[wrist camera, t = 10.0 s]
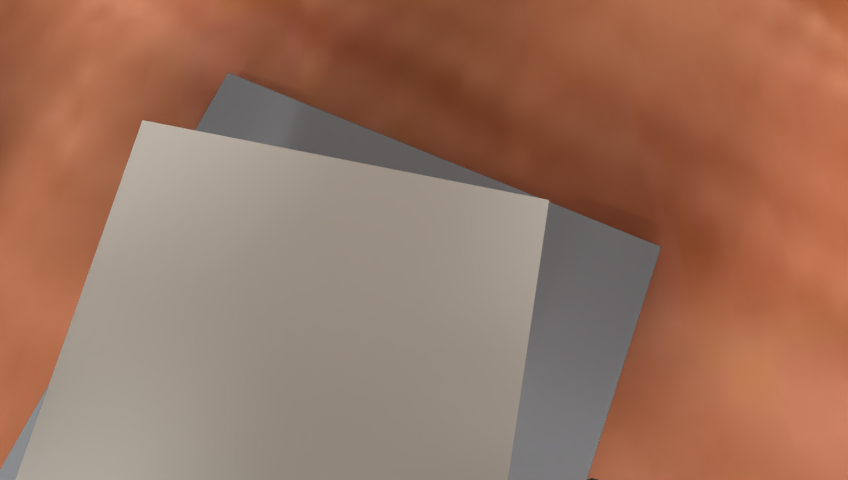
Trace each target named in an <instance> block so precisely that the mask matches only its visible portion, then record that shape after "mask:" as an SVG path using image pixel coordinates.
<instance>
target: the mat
mask: <svg viewBox="0 0 848 480" xmlns="http://www.w3.org/2000/svg"><path fill="white" fill-rule="evenodd" d="M195 130H196V131H201V132H206V133H211V134H216V135H221V136H226V137H231V138H236V139H241V140H246V141H252V142H257V143H262V144H267V145H272V146H277V147H282V148H287V149H292V150H297V151H302V152H308V153H313V154H318V155H323V156H328V157H333V158H338V159H343V160H348V161H353V162H359V163H364V164H369V165H374V166H379V167H384V168H389V169H394V170H399V171H404V172H409V173H415V174H420V175H425V176H430V177H435V178H440V179H445V180H450V181H455V182H460V183H465V184H471V185H476V186H481V187H486V188H491V189H496V190H501V191H506V192H511V193H516V194H521V195H527V196H532V197H536V196H534V195H531V194H529V193H526V192H524V191H521V190H519V189H516V188H514V187H511V186H509V185H506V184H504V183H501V182H499V181H497V180H494V179H492V178H489V177H487V176H484V175H482V174H479V173H477V172H474V171H472V170H469V169H467V168H464V167H462V166H459V165H457V164H454V163H452V162H449V161H447V160H444V159H442V158H439V157H437V156H434V155H432V154H429V153H427V152H424V151H422V150H420V149H417V148H415V147H412V146H410V145H407V144H405V143H402V142H400V141H397V140H395V139H392V138H390V137H387V136H385V135H382V134H380V133H377V132H375V131H372V130H370V129H367V128H365V127H362V126H360V125H357V124H355V123H352V122H350V121H347V120H345V119H342V118H340V117H338V116H335V115H333V114H330V113H328V112H325V111H323V110H320V109H318V108H315V107H313V106H310V105H308V104H305V103H303V102H300V101H298V100H295V99H293V98H290V97H288V96H285V95H283V94H280V93H278V92H275V91H273V90H270V89H268V88H265V87H263V86H261V85H258V84H256V83H253V82H251V81H248V80H246V79H243V78H241V77H238V76H236V75H233V74H231V73H228V74H227V75H226V77H225V79H224V81H223V82H222V84H221V86H220V88H219V89H218V91H217V93H216V95H215V96H214V98H213V100H212V102H211V103H210V105H209V107H208V109H207V110H206V112H205V114H204V116H203V117H202V119H201V121H200V122H199V124H198V126H197V128H196V129H195ZM537 198H539V197H537ZM660 249H661V247H660V246H658V245H656V244H653V243H651V242H648V241H646V240H643V239H641V238H638V237H636V236H633V235H631V234H628V233H626V232H623V231H621V230H618V229H616V228H613V227H611V226H608V225H606V224H603V223H601V222H598V221H596V220H593V219H591V218H588V217H586V216H583V215H581V214H579V213H576V212H574V211H571V210H569V209H566V208H564V207H561V206H559V205H556V204H554V203H551V202H549V205H548V211H547V218H546V225H545V232H544V239H543V245H542V252H541V259H540V266H539V273H538V279H537V286H536V293H535V300H534V306H533V313H532V320H531V327H530V334H529V340H528V347H527V354H526V361H525V368H524V374H523V381H522V388H521V395H520V402H519V408H518V415H517V422H516V429H515V435H514V442H513V449H512V456H511V463H510V469H509V476H508V480H587V477H588V474H589V471H590V468H591V465H592V462H593V459H594V455H595V452H596V449H597V446H598V443H599V440H600V437H601V434H602V430H603V427H604V424H605V421H606V418H607V415H608V412H609V408H610V405H611V402H612V399H613V396H614V393H615V390H616V387H617V383H618V380H619V377H620V374H621V371H622V368H623V365H624V362H625V358H626V355H627V352H628V349H629V346H630V343H631V340H632V337H633V333H634V330H635V327H636V324H637V321H638V318H639V315H640V311H641V308H642V305H643V302H644V299H645V296H646V293H647V290H648V286H649V283H650V280H651V277H652V274H653V271H654V268H655V265H656V261H657V258H658V255H659V252H660ZM48 386H49V385H48ZM47 389H48V387H47ZM47 389H46V391H45V392H44V394H43V396H42V398H41V399H40V401H39V403H38V405H37V406H36V408H35V410H34V412H33V413H32V415H31V417H30V419H29V420H28V422H27V424H26V426H25V427H24V429H23V431H22V432H21V434H20V436H19V438H18V439H17V441H16V443H15V445H14V446H13V448H12V450H11V452H10V453H9V455H8V457H7V459H6V460H5V462H4V464H3V466H2V467H1V469H0V480H15V479H16V477H17V474H18V471H19V468H20V465H21V462H22V460H23V457H24V454H25V451H26V448H27V445H28V443H29V440H30V437H31V434H32V431H33V428H34V426H35V423H36V420H37V417H38V414H39V411H40V409H41V406H42V403H43V400H44V397H45V394H46V392H47Z"/></svg>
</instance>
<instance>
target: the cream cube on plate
mask: <svg viewBox="0 0 848 480" xmlns="http://www.w3.org/2000/svg"><path fill="white" fill-rule="evenodd" d="M548 205H549V200H547V199H542V198H537V197H532V196H527V195H521V194H516V193H511V192H506V191H501V190H496V189H491V188H486V187H481V186H476V185H471V184H465V183H460V182H455V181H450V180H445V179H440V178H435V177H430V176H425V175H420V174H415V173H409V172H404V171H399V170H394V169H389V168H384V167H379V166H374V165H369V164H364V163H359V162H353V161H348V160H343V159H338V158H333V157H328V156H323V155H318V154H313V153H308V152H302V151H297V150H292V149H287V148H282V147H277V146H272V145H267V144H262V143H257V142H252V141H246V140H241V139H236V138H231V137H226V136H221V135H216V134H211V133H206V132H201V131H196V130H190V129H185V128H180V127H175V126H170V125H165V124H160V123H155V122H150V121H145V120H142V123H141V126H140V129H139V131H138V134H137V137H136V140H135V143H134V145H133V148H132V151H131V154H130V157H129V160H128V162H127V165H126V168H125V171H124V174H123V177H122V179H121V182H120V185H119V188H118V191H117V194H116V196H115V199H114V202H113V205H112V208H111V211H110V213H109V216H108V219H107V222H106V225H105V228H104V230H103V233H102V236H101V239H100V242H99V245H98V247H97V250H96V253H95V256H94V259H93V261H92V264H91V267H90V270H89V273H88V276H87V278H86V281H85V284H84V287H83V290H82V293H81V295H80V298H79V301H78V304H77V307H76V310H75V312H74V315H73V318H72V321H71V324H70V327H69V329H68V332H67V335H66V338H65V341H64V344H63V346H62V349H61V352H60V355H59V358H58V361H57V363H56V366H55V369H54V372H53V375H52V377H51V380H50V383H49V386H48V389H47V392H46V394H45V397H44V400H43V403H42V406H41V409H40V411H39V414H38V417H37V420H36V423H35V426H34V428H33V431H32V434H31V437H30V440H29V443H28V445H27V448H26V451H25V454H24V457H23V460H22V462H21V465H20V468H19V471H18V474H17V477H16V479H15V480H508V476H509V469H510V463H511V456H512V449H513V442H514V435H515V429H516V422H517V415H518V408H519V402H520V395H521V388H522V381H523V374H524V368H525V361H526V354H527V347H528V340H529V334H530V327H531V320H532V313H533V306H534V300H535V293H536V286H537V279H538V273H539V266H540V259H541V252H542V245H543V239H544V232H545V225H546V218H547V211H548Z"/></svg>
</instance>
